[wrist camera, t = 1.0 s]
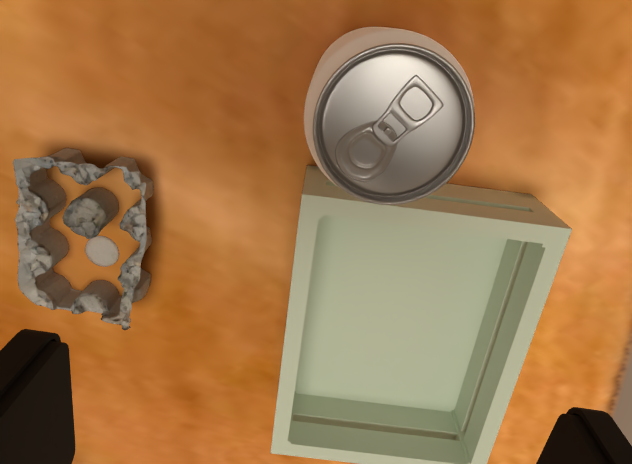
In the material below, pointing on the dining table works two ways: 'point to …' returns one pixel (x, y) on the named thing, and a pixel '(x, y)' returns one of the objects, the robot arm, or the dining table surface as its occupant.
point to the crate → (410, 322)
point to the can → (388, 115)
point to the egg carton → (86, 220)
